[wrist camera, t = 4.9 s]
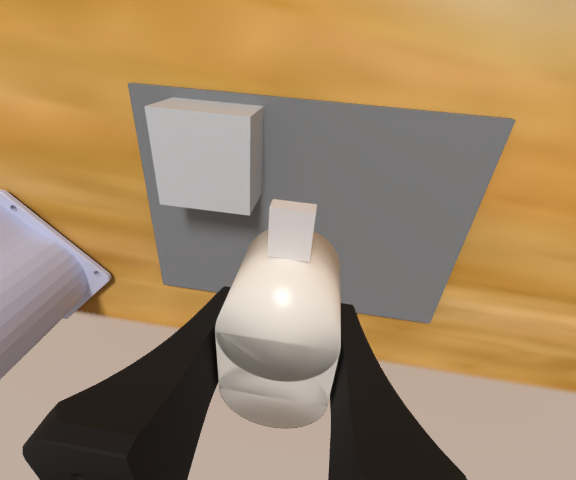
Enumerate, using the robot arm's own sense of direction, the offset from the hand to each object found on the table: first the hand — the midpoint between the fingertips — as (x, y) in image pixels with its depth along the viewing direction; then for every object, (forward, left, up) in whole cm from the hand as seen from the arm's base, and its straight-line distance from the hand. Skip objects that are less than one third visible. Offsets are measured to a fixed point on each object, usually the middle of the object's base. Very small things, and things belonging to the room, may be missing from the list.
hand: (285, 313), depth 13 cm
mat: (0, 0, -8) cm, 9 cm away
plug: (0, 0, -1) cm, 1 cm away
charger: (-7, -1, -8) cm, 11 cm away
